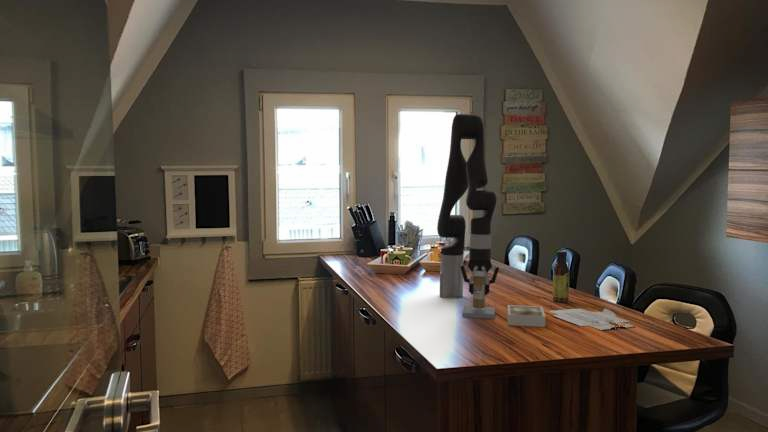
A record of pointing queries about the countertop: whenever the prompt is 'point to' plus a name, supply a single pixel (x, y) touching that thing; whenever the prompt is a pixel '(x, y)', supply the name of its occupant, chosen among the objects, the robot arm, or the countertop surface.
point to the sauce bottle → (561, 278)
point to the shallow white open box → (526, 317)
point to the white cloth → (590, 318)
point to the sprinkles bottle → (479, 290)
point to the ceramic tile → (478, 312)
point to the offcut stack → (525, 311)
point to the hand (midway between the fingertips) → (479, 294)
